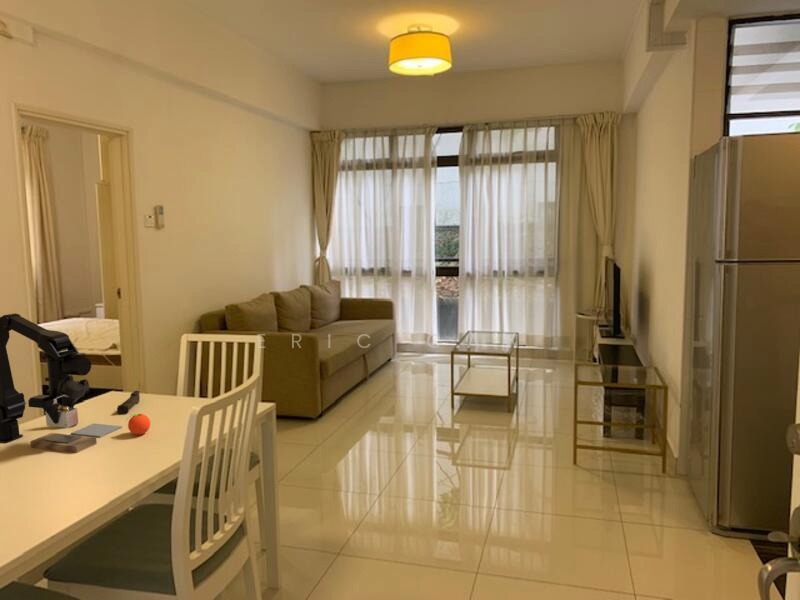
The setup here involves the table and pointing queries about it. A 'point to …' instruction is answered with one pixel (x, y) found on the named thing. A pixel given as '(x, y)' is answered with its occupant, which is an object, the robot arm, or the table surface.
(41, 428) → the table surface
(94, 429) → the rubber mat
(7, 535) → the table surface
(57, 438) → the body
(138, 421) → the tomato
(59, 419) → the lever cap
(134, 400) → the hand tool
